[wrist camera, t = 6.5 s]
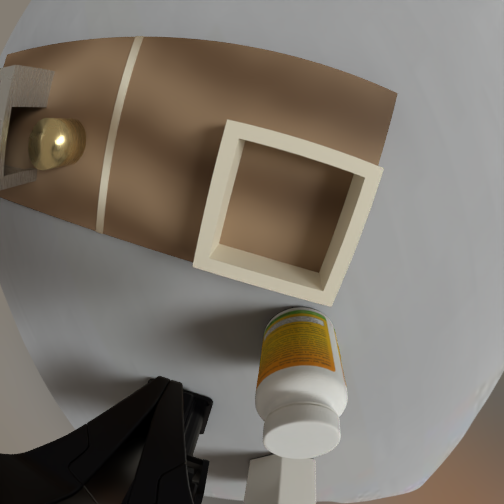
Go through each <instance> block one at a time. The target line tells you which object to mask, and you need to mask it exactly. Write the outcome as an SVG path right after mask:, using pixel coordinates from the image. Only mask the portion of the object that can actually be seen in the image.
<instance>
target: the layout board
mask: <svg viewBox="0 0 504 504" xmlns="http://www.w3.org/2000/svg"><path fill="white" fill-rule="evenodd" d="M12 65H21V66H28V67H34V68H40V69H46V70H51V71H55V74H54V77H53V81H52V85H51V89H50V93H49V98H48V102H47V107H12V109H11V114H10V120H9V127H8V134H7V142H6V151H5V162H4V165H8V166H12V167H17V168H21V169H28V168H36V167H34V165H33V164H32V162H31V160H30V157H29V152H28V143H29V138H30V134H31V132H32V129H33V128H34V126H35V125H36V124H37V123H38V122H39V121H40V120H42V119H44V118H69V119H76V120H78V121H80V122H81V123H82V125H83V126H84V129H85V132H86V146H85V150H84V152H83V154H82V156H81V158H80V159H79V160H78V161H77V162H76V163H75V164H73V165H69V166H63V167H58V168H53V169H47V170H39V169H37V168H36V169H37V179H36V181H33V182H29V183H26V184H22V185H18V186H14V187H11V188H7V189H4V190H1V191H0V197H1V198H4V199H7V200H9V201H12V202H15V203H18V204H20V205H23V206H26V207H29V208H31V209H34V210H37V211H40V212H42V213H45V214H48V215H51V216H54V217H57V218H59V219H62V220H65V221H68V222H71V223H74V224H77V225H80V226H83V227H86V228H88V229H91V230H94V231H96V232H98V233H101V234H106V235H109V236H112V237H115V238H118V239H121V240H124V241H127V242H131V243H134V244H137V245H140V246H143V247H146V248H149V249H152V250H155V251H158V252H162V253H165V254H168V255H171V256H174V257H178V258H181V259H184V260H187V261H190V262H194V257H195V252H196V247H197V242H198V238H199V233H200V228H201V224H202V219H203V215H204V210H205V206H206V201H207V197H208V193H209V189H210V184H211V180H212V176H213V172H214V168H215V164H216V160H217V156H218V152H219V148H220V144H221V141H222V137H223V133H224V129H225V126H226V122H227V119H228V120H232V121H236V122H241V123H245V124H249V125H253V126H257V127H261V128H265V129H269V130H272V131H276V132H280V133H283V134H287V135H290V136H293V137H297V138H300V139H303V140H307V141H310V142H313V143H316V144H319V145H322V146H325V147H328V148H331V149H334V150H337V151H340V152H343V153H345V154H348V155H351V156H354V157H356V158H359V159H362V160H364V161H367V162H369V163H372V164H374V165H377V166H378V163H379V160H380V157H381V153H382V150H383V147H384V143H385V140H386V136H387V132H388V129H389V125H390V121H391V118H392V114H393V110H394V106H395V102H396V97H397V93H395V92H393V91H391V90H389V89H387V88H384V87H382V86H380V85H377V84H375V83H372V82H370V81H367V80H365V79H362V78H360V77H357V76H354V75H352V74H349V73H346V72H343V71H341V70H338V69H335V68H332V67H329V66H325V65H322V64H319V63H316V62H312V61H309V60H305V59H302V58H298V57H294V56H290V55H286V54H282V53H278V52H274V51H269V50H264V49H259V48H254V47H249V46H243V45H237V44H231V43H224V42H217V41H208V40H199V39H187V38H172V37H143V36H136V37H115V38H100V39H89V40H79V41H72V42H65V43H58V44H52V45H47V46H42V47H37V48H32V49H28V50H23V51H19V52H15V53H12V54H8V55H7V57H6V60H5V64H4V67H8V66H12ZM4 67H3V68H4ZM353 175H354V173H351V172H349V171H346V170H343V169H340V168H337V167H334V166H332V165H329V164H326V163H323V162H320V161H316V160H313V159H310V158H307V157H304V156H301V155H297V154H294V153H291V152H287V151H284V150H281V149H277V148H273V147H270V146H266V145H263V144H259V143H255V142H251V141H247V140H245V144H244V148H243V151H242V155H241V159H240V162H239V166H238V170H237V174H236V178H235V181H234V185H233V189H232V193H231V197H230V201H229V205H228V209H227V213H226V217H225V221H224V225H223V229H222V233H221V237H220V241H219V244H222V245H225V246H229V247H232V248H235V249H239V250H242V251H246V252H249V253H253V254H256V255H259V256H263V257H266V258H270V259H273V260H276V261H280V262H283V263H287V264H290V265H293V266H297V267H300V268H304V269H307V270H311V271H314V272H317V273H319V272H320V269H321V267H322V264H323V261H324V259H325V256H326V253H327V251H328V248H329V245H330V243H331V240H332V237H333V234H334V232H335V229H336V226H337V223H338V220H339V217H340V214H341V212H342V209H343V206H344V203H345V200H346V197H347V194H348V191H349V188H350V185H351V181H352V178H353Z"/></svg>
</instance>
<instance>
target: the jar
mask: <svg viewBox="0 0 504 504" xmlns="http://www.w3.org/2000/svg"><path fill="white" fill-rule="evenodd" d="M243 504H316V463H315V459H312V458H306V459H291V458H285V457H281V456H278V455H275V454H273V455H269V456H265V457H261V458H256V459H252V460H250V464H249V471H248V477H247V484H246V490H245V496H244V502H243Z"/></svg>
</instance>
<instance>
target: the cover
mask: <svg viewBox="0 0 504 504" xmlns="http://www.w3.org/2000/svg"><path fill="white" fill-rule="evenodd" d="M54 74H55V71H51V70H46V69H40V68H34V67H28V66H21V65H12V66H8V67H4V68H0V191H1V190H4V189H7V188H11V187H14V186H18V185H22V184H26V183H29V182H33V181H36V179H37V169H36V168H28V169H21V168H17V167H12V166H8V165H4V162H5V151H6V142H7V134H8V127H9V120H10V114H11V109H12V107H47V102H48V98H49V93H50V89H51V85H52V81H53V77H54Z"/></svg>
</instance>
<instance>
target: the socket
mask: <svg viewBox="0 0 504 504" xmlns="http://www.w3.org/2000/svg"><path fill="white" fill-rule="evenodd" d="M245 140H247V141H251V142H255V143H259V144H263V145H266V146H270V147H273V148H277V149H281V150H284V151H287V152H291V153H294V154H297V155H301V156H304V157H307V158H310V159H313V160H316V161H320V162H323V163H326V164H329V165H332V166H334V167H337V168H340V169H343V170H346V171H349V172H351V173H354V175H353V178H352V181H351V185H350V188H349V191H348V194H347V197H346V200H345V203H344V206H343V209H342V212H341V214H340V217H339V220H338V223H337V226H336V229H335V232H334V234H333V237H332V240H331V243H330V245H329V248H328V251H327V253H326V256H325V259H324V261H323V264H322V267H321V269H320V272H319V273H317V272H314V271H311V270H307V269H304V268H300V267H297V266H293V265H290V264H287V263H283V262H280V261H276V260H273V259H270V258H266V257H263V256H259V255H256V254H253V253H249V252H246V251H242V250H239V249H235V248H232V247H229V246H225V245H222V244H219V241H220V237H221V233H222V229H223V225H224V221H225V217H226V213H227V209H228V205H229V201H230V197H231V193H232V189H233V185H234V181H235V178H236V174H237V170H238V166H239V162H240V159H241V155H242V151H243V148H244V144H245ZM383 170H384V168H382V167H379V166H377V165H374V164H372V163H369V162H367V161H364V160H362V159H359V158H356V157H354V156H351V155H348V154H345V153H343V152H340V151H337V150H334V149H331V148H328V147H325V146H322V145H319V144H316V143H313V142H310V141H307V140H303V139H300V138H297V137H293V136H290V135H287V134H283V133H280V132H276V131H272V130H269V129H265V128H261V127H257V126H253V125H249V124H245V123H241V122H236V121H232V120H228V119H227V122H226V126H225V129H224V133H223V137H222V141H221V144H220V148H219V152H218V156H217V160H216V164H215V168H214V172H213V176H212V180H211V184H210V189H209V193H208V197H207V201H206V206H205V210H204V215H203V219H202V224H201V228H200V233H199V238H198V242H197V247H196V252H195V257H194V262H193V267H195V268H198V269H201V270H204V271H208V272H211V273H214V274H217V275H221V276H224V277H227V278H231V279H234V280H237V281H241V282H244V283H248V284H251V285H254V286H258V287H261V288H265V289H268V290H272V291H275V292H279V293H282V294H286V295H289V296H293V297H297V298H300V299H304V300H307V301H311V302H315V303H318V304H322V305H326V306H330V307H331V306H332V304H333V302H334V300H335V297H336V295H337V293H338V290H339V288H340V286H341V283H342V281H343V279H344V276H345V274H346V272H347V269H348V267H349V264H350V262H351V259H352V257H353V254H354V252H355V249H356V247H357V244H358V242H359V239H360V236H361V234H362V231H363V228H364V226H365V223H366V220H367V217H368V215H369V212H370V209H371V206H372V203H373V200H374V197H375V194H376V191H377V188H378V185H379V182H380V179H381V176H382V173H383Z"/></svg>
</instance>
